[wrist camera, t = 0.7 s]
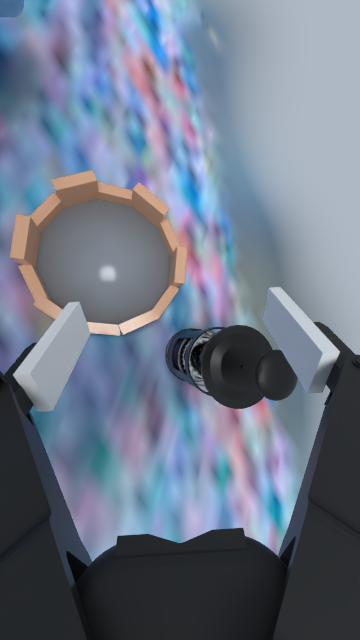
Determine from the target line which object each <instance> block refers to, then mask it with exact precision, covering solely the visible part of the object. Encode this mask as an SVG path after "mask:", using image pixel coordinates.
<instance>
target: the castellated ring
mask: <svg viewBox="0 0 360 640" xmlns="http://www.w3.org/2000/svg"><path fill="white" fill-rule="evenodd" d="M51 182H52V184H53V186H54V189H55V191H56V194H57V195H56V194H55V193H52V194H51V195H50V196H49V197H48V198H47V199H46V200H45V201H44V202H43V203H42V204H41V205H40V206H39V207H38V208H37V209H36V210H35V211H34V212H33V213H32V214H31V215H30V216H25V215H20V214H16V220H15V227H14V233H13V239H12V246H11V252H10V258H11V259H13V260H14V261H15V262H17V263H18V264H19V265H20V266H18V267H19V269H20V271H21V273H22V275H23V277H24V279H25V281H26V283H27V285H28V287H29V290H30V292H31V294H32V296H33V298H34V300H35V302H34V304H33V305H34V306H36V307H37V308H39V309H40V310H42V311H43V312H45V313H46V314H48V315H49V316H51V317H52V318H54V319H56V318H57V317H58V315H59V314H60V313H61V312H62V310H63V309H64V308H65V306H66V305H67V304H68V303H69V302H80V305H81V307H82V310H83V313H84V316H85V319H86V322H87V324H88V327H89V330H90V333H94V334H107V335H119V336H120V333H121V334H122V335H124V334H126V333H128V332H131V331H133V330H135V329H137V328H139V327H142V326H144V325H146V324H148V323H150V322H153V321H155V320H157V319H159V318H160V316H161V314H162V313H163V311H164V310H165V309H166V307H167V306H168V304H169V303H170V302H171V300H172V299H173V297H174V296H175V294H176V293H177V292H178V290H179V289H178V288H179V287H181V286H182V285H183V284H184V280H185V268H186V255H187V247H182V246H180V245H179V242H178V240H177V238H176V236H175V233H174V231H173V229H172V226H171V224H170V222H169V220H168V218H167V219H165V218H166V216H167V214H168V211H169V209H170V208H169V207H168V206H167V205H165V204H164V203H163V202H162V201H161V200H159V199H158V198H157V197H156V196H155V195H154V194H152V193H151V192H150V191H149V190H148V189H146V188H145V187H144V186H143V185H142V184H141V183H138V184H137V185H136V186H135V187H134V188H133V190H129V189H125V188H121V187H117V186H113V185H109V184H105V183H101V182H97V179H96V177H95V174H94V172H93V170H90V171H86V172H82V173H77V174H73V175H68V176H64V177H60V178H55V179H51Z"/></svg>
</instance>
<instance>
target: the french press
mask: <svg viewBox="0 0 360 640" xmlns="http://www.w3.org/2000/svg"><path fill="white" fill-rule="evenodd" d="M212 329H222V330H220V331H219V332H217V333H214V332H211V331H210V330H212ZM182 338H184V339H185V340H184V341H183V342H182V344H181V346H180V349H179V352H178V365H179V368H180V370H179V369H178V368H177V366H176V364H175V362H174V357H173V355H174V349H175V346H176V345H177V343H178V342H179V341H180V340H181V339H182ZM166 362H167V365H168V368H169V369H170V371H171V372H172V373H173V375H175V376H176V377H177V378H179V379H181V380H183V381H187V382H188V383H190V384H191V385H193V386H195V387H196V388H197V389H199V390H200V391H201V392H203V393H205V394H207V395H209V396H212V397H213V398H214V399H215V400H216V401H218V402H219V403H220V404H222V405H224V406H226V407H229V408H234V409H243V408H247V407H250V406H252V405H254V404H256V403H258V402H259V401H260V400H262V399H263V397H264V396H265V397H266V398H268V399H270V400H274V401H278V400H282V399H285V398H287V397H288V396H289V395H290V394H291V393H292V392H293V390H294V389H295V387H296V384H297V379H298V377H297V375H296V374H295V372H294V371H293V369H292V367H291V366H290V364H289V362H288V361H287V359H286V357H285V356H284V354H283V352H282V351H281V350H272V348H271V346H270V344H269V342H268V341H267V339H266V338H265V337H264V336H263V335H262V334H261V333H260V332H259V331H257V330H255V329H253V328H251V327H248V326H243V325H235V326H229V327H227V328H225V327H214V328H208V329H205V330H201V329H192V328H190V329H184V330H181V331H180V332H178V333H176V334H175V335H174V336H173V337H172V338H171V340H170V341H169V343H168V345H167V349H166ZM197 385H199V386H205V387H206V389H207V390H208V392H205V391H203V390H202V389H200V388H199V387H198V386H197Z"/></svg>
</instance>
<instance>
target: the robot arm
mask: <svg viewBox="0 0 360 640" xmlns="http://www.w3.org/2000/svg"><path fill="white" fill-rule="evenodd" d="M23 6H24V0H0V17H17V16H19V15H20V14H21V12H22V10H23ZM263 321H264V323H265V325H266V326H267V328H268V330H269V331H270V333H271V334H272V336H273V338H274V339H275V341H276V343H277V344H278V346H279V348H280V349H281V351H282V352H283V354H284V356H285V357H286V359H287V361H288V362H289V364H290V366H291V367H292V369H293V371H294V372H295V374H296V375H297V377H298V379H299V380H300V382H301V384H302V385H303V387H304V389H305V390H306V392H307V393H320V392H323V390H324V387H325V385H327V386H328V388H329V389H330V390H331V391H330V393H329V395H328V397H327V400H326V402H325V404H324V405H326V406H325V409H324V412H323V415H322V418H321V422H320V425H319V428H318V432H317V435H316V438H315V442H314V445H313V448H312V451H311V455H310V458H309V461H308V465H307V468H306V471H305V474H304V478H303V481H302V484H301V488H300V491H299V494H298V498H297V501H296V504H295V507H294V511H293V514H292V517H291V521H290V524H289V527H288V530H287V532H286V535H285V537H284V540H283V542H282V545H281V548H280V551H279V555H278V556H277V555H276V554H275V553H274V552H273V551H271V550H270V549H269V548H268V547H266V546H265V545H263V544H261V543H260V542H258V541H256V540H254V539H252V538H249V537H246V536H245V535H244V530H243V528H234V529H219V530H211V531H209V532H206V533H204V534H202V535H200V536H197V537H195V538H193V539H190V540H188V541H186V542H183V543H176V542H173V541H170V540H166V539H163V538H160V537H156V536H153V535H150V534H141V535H125V536H118V537H117V544H116V545H115V546H113V547H111V548H110V549H108V550H106V551H105V552H103V553H102V554H101V555H100V556H98V557H97V558H96V559H95V560H94V561H93V562H92V561H91V558H90V556H89V554H88V552H87V550H86V549H85V547H84V545H83V544H82V542H81V540H80V537H79V535H78V532H77V530H76V527H75V525H74V522H73V520H72V517H71V514H70V512H69V509H68V507H67V504H66V502H65V499H64V496H63V494H62V491H61V489H60V486H59V484H58V481H57V478H56V476H55V473H54V471H53V468H52V466H51V463H50V460H49V458H48V455H47V453H46V450H45V448H44V445H43V442H42V440H41V437H40V435H39V432H38V430H37V427H36V424H35V422H34V419H33V417H32V415H31V413H30V412H29V411H30V410H31V408H32V406H33V405H34V407H35V408H36V410H37V411H38V412H45V411H53V409H54V407H55V405H56V403H57V401H58V399H59V397H60V395H61V393H62V391H63V389H64V387H65V385H66V383H67V381H68V379H69V377H70V375H71V373H72V371H73V369H74V367H75V365H76V362H77V360H78V358H79V356H80V354H81V352H82V350H83V348H84V346H85V344H86V342H87V340H88V338H89V336H90V334H91V333H90V330H89V327H88V324H87V322H86V319H85V316H84V313H83V310H82V307H81V305H80V302H69V303H68V304H67V305H66V306H65V308H64V309H63V310H62V312H61V313H60V314H59V315H58V317H57V318H56V319H55V321H54V322H53V323H52V325H51V326H50V327H49V328H48V330H47V331H46V332H45V334H44V335H43V336H42V338H41V339H40V340H39V341H38V343H33V344H31V345H30V346H29V347H27V348H26V349H25V350H24V351H23V352H22V354H21V355H20V357H18V359H17V360H16V362H14V364H13V365H12V366H11V367H10V368H9V370H8V371H7V372H6V373H5V375H4V376H3V374H2V373H1V372H0V640H360V355H355V354H354V353H353V352H352V351H351V350H350V349H349V348H348V347H347V346H346V345H345V344H344V343H343V342H342V341H341V340H340V339H338V337H337V336H336V335H335V334H334V333H333V332H332V331H331V330H330V329H329V328H328V327H327V326H325V325H324V324H322V323H320V322H312V321H311V320H310V319H309V318H308V317H307V316H306V315H305V313H304V312H303V311H302V310H301V309H300V308H299V307H298V306H297V305H296V304H295V303H294V302H293V300H292V299H291V298H290V297H289V296H288V295H287V294H286V293H285V292H284V291H283V290H282V289H281V288H280V287H277V288H276V287H275V288H269V291H268V297H267V303H266V308H265V314H264V320H263Z"/></svg>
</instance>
